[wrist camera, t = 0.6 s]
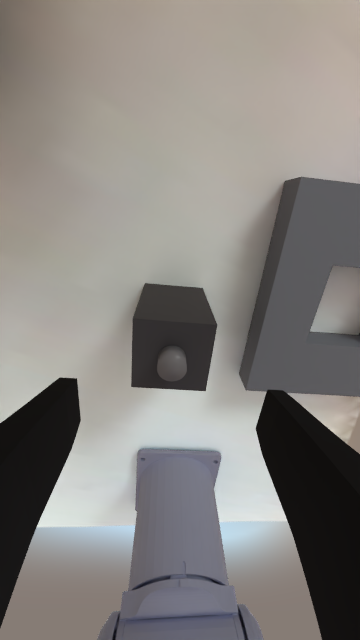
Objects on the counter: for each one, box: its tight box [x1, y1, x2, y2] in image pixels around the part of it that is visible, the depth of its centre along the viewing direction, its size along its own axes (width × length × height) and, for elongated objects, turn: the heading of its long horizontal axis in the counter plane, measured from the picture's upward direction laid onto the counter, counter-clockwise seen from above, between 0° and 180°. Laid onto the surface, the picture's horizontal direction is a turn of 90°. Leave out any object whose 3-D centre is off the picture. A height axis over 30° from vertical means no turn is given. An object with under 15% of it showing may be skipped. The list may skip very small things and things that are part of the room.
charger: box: [131, 283, 217, 391], centre depth 15 cm, size 4×4×7 cm
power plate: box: [239, 177, 360, 397], centre depth 17 cm, size 14×12×2 cm
